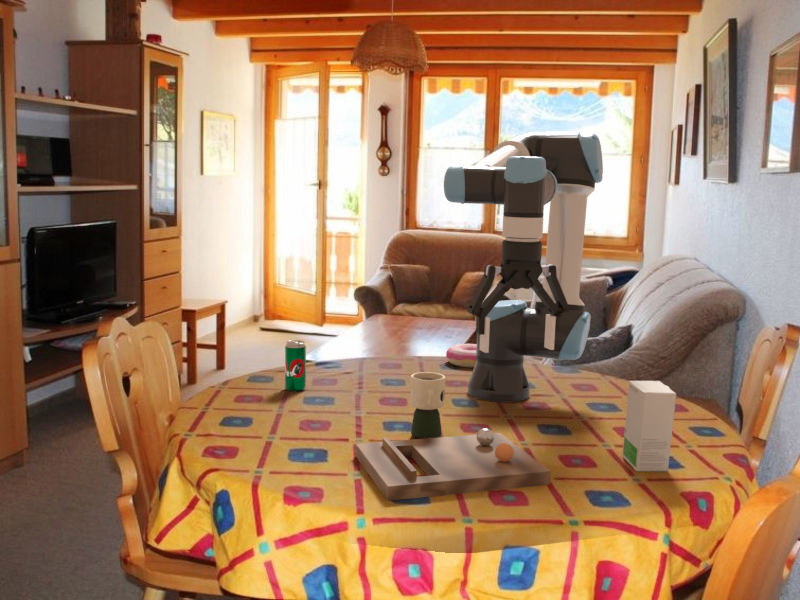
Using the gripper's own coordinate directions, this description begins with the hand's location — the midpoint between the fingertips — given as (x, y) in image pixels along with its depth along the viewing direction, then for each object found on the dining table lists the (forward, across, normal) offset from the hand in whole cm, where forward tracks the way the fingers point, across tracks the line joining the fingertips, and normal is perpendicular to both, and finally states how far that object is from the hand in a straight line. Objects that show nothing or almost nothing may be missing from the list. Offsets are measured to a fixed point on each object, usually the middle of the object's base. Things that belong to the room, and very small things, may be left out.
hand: (516, 350), depth 161 cm
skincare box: (+21, -23, +11) cm, 33 cm away
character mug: (+21, +13, -14) cm, 29 cm away
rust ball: (+17, +6, +10) cm, 20 cm away
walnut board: (+21, +15, +5) cm, 26 cm away
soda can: (+21, +34, -56) cm, 68 cm away
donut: (+21, -19, -73) cm, 78 cm away
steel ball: (+17, +6, 0) cm, 18 cm away
